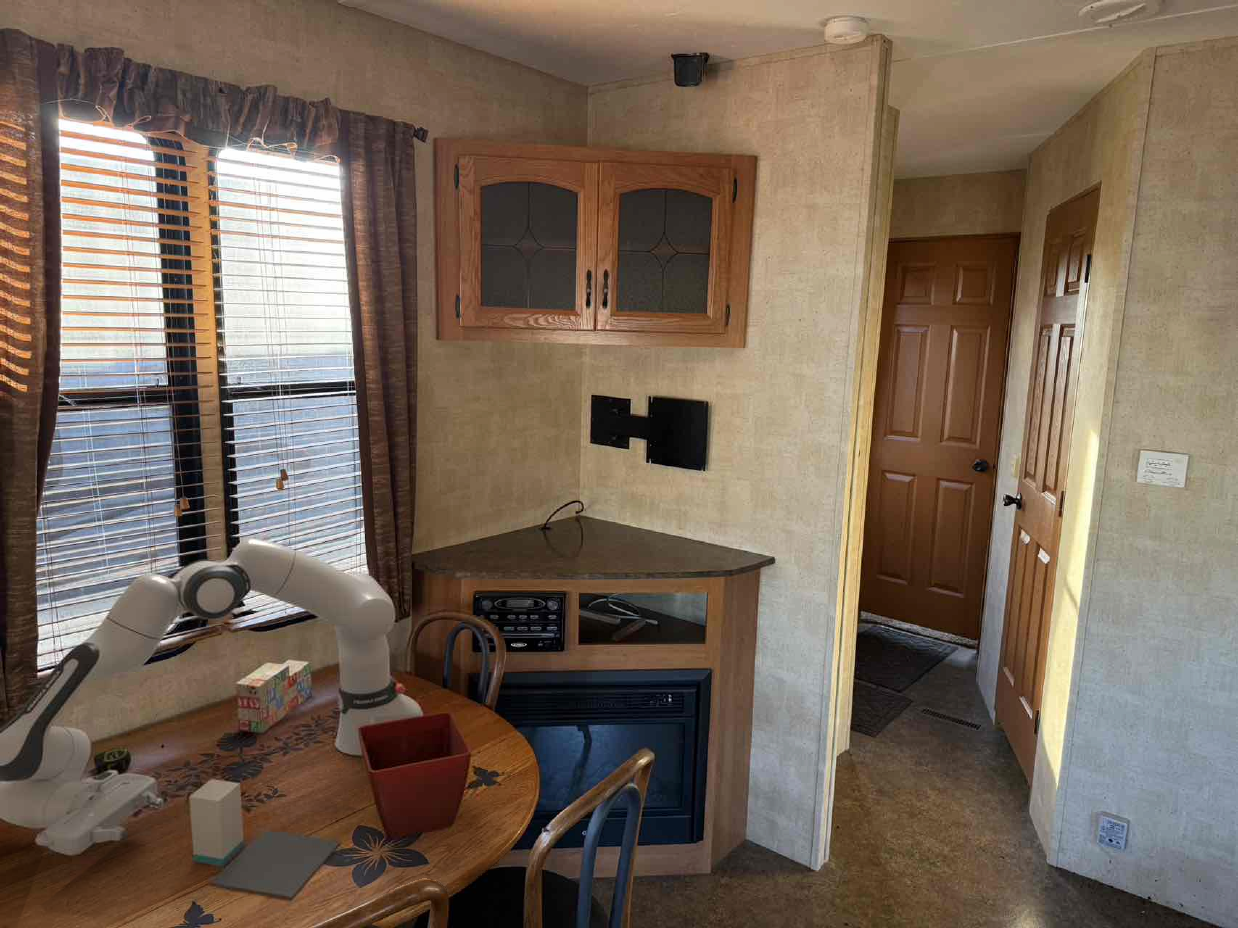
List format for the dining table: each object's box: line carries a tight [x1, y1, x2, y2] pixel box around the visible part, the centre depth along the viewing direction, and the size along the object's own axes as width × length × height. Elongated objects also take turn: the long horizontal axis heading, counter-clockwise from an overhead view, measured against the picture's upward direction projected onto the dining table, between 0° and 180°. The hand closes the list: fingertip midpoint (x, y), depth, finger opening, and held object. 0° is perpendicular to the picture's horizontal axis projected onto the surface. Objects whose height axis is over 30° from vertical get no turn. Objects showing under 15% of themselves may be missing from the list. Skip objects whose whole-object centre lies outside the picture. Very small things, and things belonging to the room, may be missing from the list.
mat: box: [209, 829, 341, 901], centre depth 158 cm, size 16×16×1 cm
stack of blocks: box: [235, 659, 313, 734], centre depth 215 cm, size 21×6×12 cm, turn 167°
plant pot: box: [358, 711, 472, 840], centre depth 172 cm, size 19×19×17 cm
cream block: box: [189, 778, 245, 867], centre depth 160 cm, size 6×6×13 cm
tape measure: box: [93, 747, 132, 776], centre depth 188 cm, size 7×7×4 cm
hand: (142, 818), depth 158 cm, fingers open, 8 cm apart
